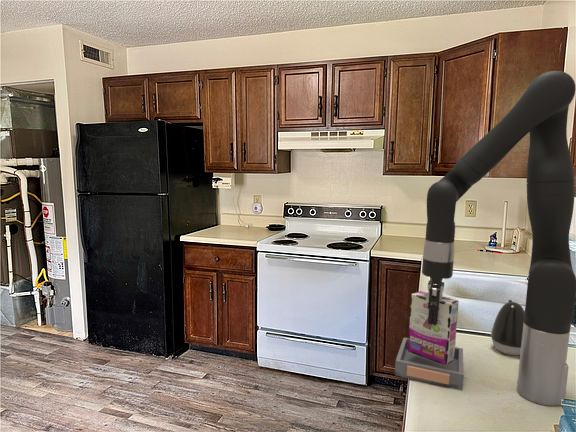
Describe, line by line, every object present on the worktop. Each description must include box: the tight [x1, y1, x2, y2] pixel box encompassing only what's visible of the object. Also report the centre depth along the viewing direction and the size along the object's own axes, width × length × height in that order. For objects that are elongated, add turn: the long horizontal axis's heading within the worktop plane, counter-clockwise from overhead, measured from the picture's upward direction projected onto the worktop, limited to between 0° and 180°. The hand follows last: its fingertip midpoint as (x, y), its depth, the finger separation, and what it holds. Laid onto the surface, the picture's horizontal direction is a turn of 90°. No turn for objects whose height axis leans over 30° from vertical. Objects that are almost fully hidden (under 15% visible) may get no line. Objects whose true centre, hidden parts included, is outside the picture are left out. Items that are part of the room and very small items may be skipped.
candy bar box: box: [407, 290, 460, 365], centre depth 107 cm, size 11×5×16 cm, turn 45°
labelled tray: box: [394, 337, 464, 391], centre depth 107 cm, size 16×17×4 cm
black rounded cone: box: [490, 299, 525, 356], centre depth 119 cm, size 10×10×15 cm
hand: (433, 319), depth 106 cm, fingers closed on candy bar box, 6 cm apart
